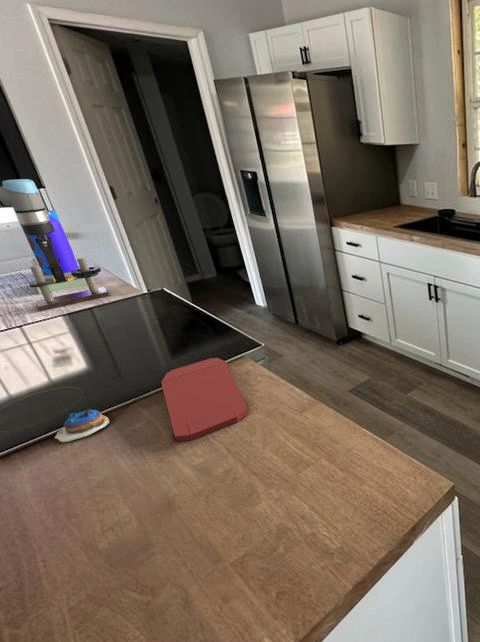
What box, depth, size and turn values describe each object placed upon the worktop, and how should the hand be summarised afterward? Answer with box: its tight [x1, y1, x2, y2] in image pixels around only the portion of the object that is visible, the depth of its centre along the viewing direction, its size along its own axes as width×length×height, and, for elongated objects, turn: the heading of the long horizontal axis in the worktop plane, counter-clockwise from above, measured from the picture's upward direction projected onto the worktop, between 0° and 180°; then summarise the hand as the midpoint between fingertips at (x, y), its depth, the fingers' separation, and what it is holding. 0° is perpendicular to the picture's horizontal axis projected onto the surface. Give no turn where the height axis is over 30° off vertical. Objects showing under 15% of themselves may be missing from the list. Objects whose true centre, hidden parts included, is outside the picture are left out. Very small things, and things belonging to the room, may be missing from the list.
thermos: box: [17, 210, 76, 276], centre depth 170 cm, size 11×11×25 cm
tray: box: [34, 272, 88, 295], centre depth 159 cm, size 15×13×3 cm
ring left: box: [50, 276, 75, 285], centre depth 158 cm, size 7×7×1 cm
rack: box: [28, 257, 110, 312], centre depth 141 cm, size 17×8×14 cm, turn 139°
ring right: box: [71, 265, 102, 277], centre depth 144 cm, size 7×7×1 cm
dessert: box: [54, 408, 111, 443], centre depth 81 cm, size 8×7×6 cm
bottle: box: [34, 215, 80, 276], centre depth 164 cm, size 8×8×30 cm
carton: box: [160, 357, 250, 442], centre depth 90 cm, size 12×5×25 cm
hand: (61, 281), depth 159 cm, fingers closed on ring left, 7 cm apart
